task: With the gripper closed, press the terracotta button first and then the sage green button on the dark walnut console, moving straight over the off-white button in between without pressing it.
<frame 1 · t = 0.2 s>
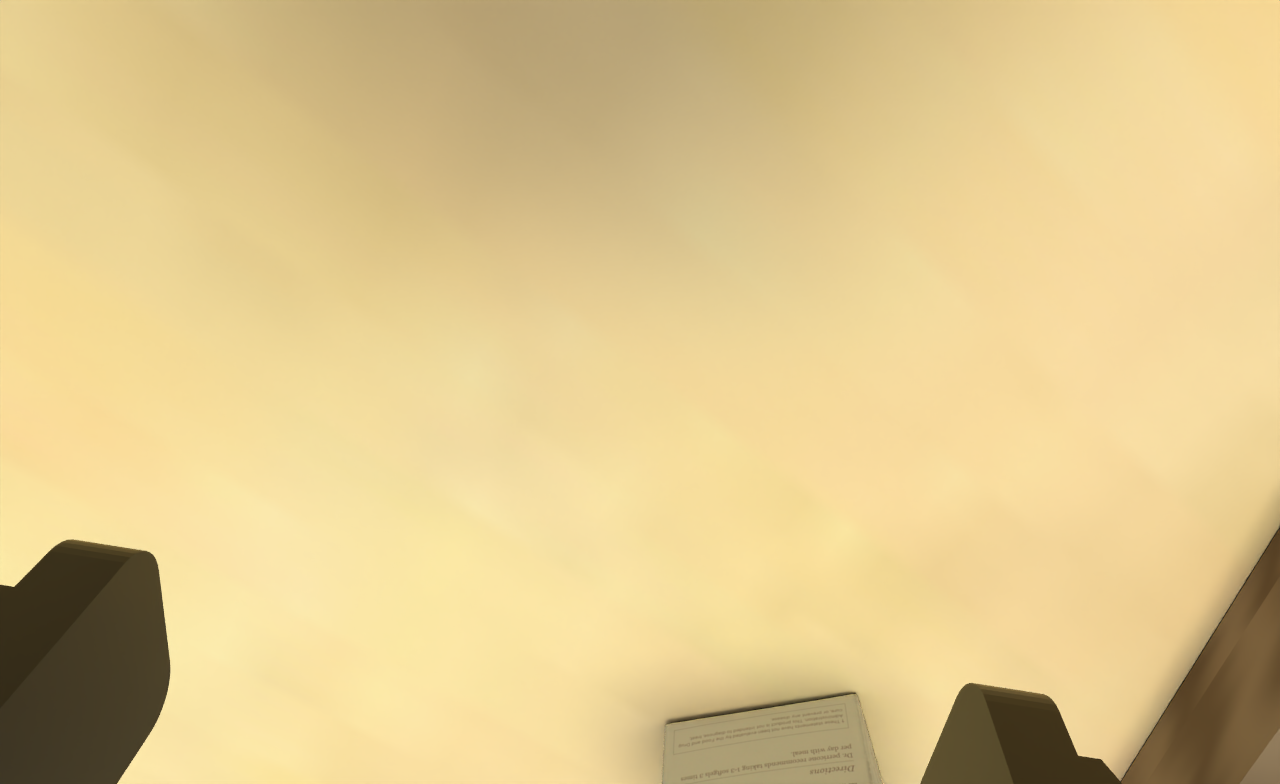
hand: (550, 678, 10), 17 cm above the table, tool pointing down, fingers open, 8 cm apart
supplement box: (782, 765, 36), on the table
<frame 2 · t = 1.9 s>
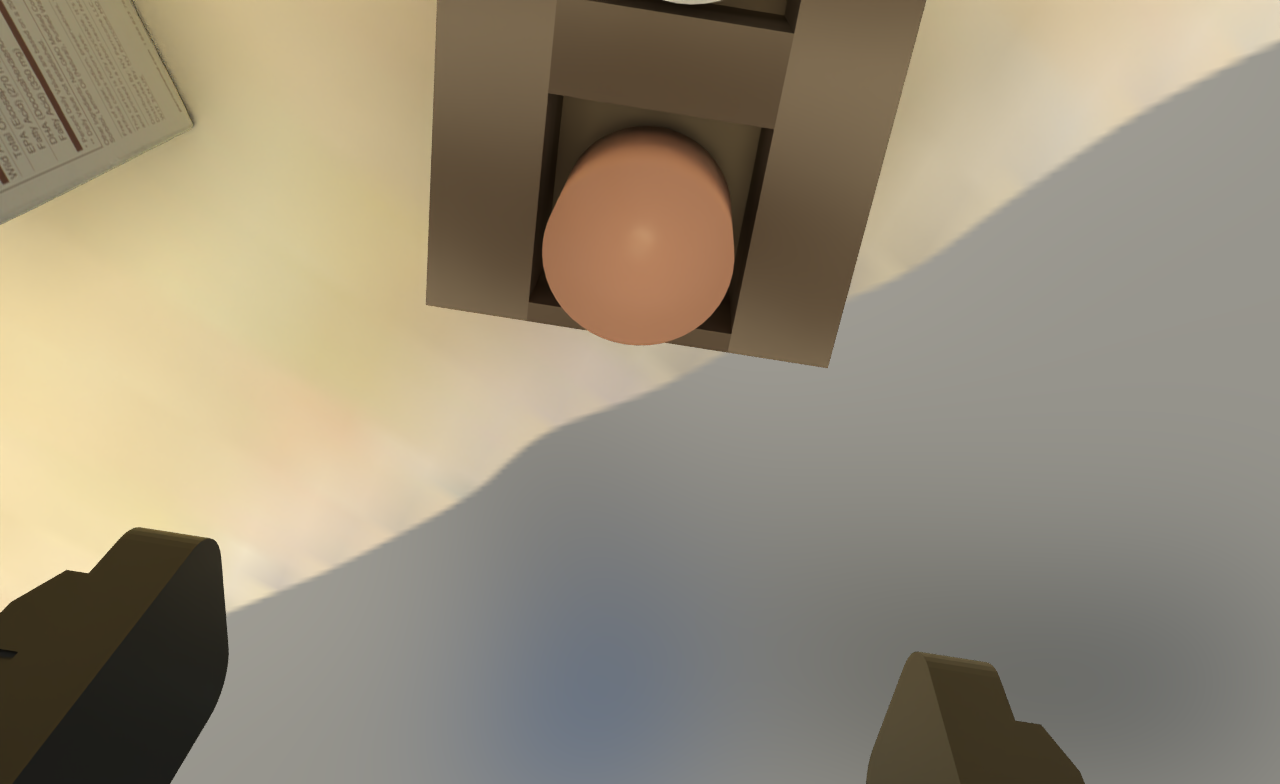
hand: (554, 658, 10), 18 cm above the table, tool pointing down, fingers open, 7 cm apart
supplement box: (21, 31, 25), on the table
terracotta button: (642, 233, 21), point 5 cm above the table, slide at 0.0 cm
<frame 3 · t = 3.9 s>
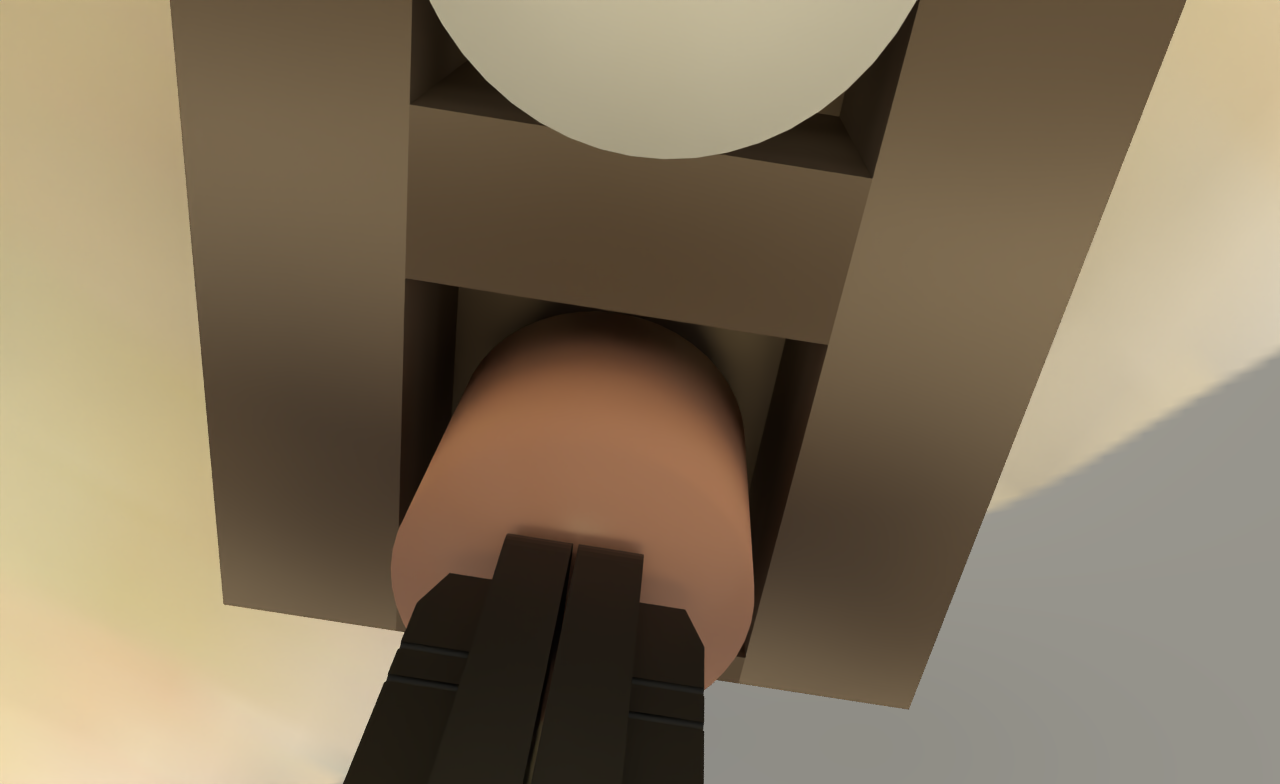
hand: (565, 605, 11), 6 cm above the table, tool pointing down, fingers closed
terracotta button: (587, 510, 12), point 5 cm above the table, slide at 0.4 cm, touching gripper
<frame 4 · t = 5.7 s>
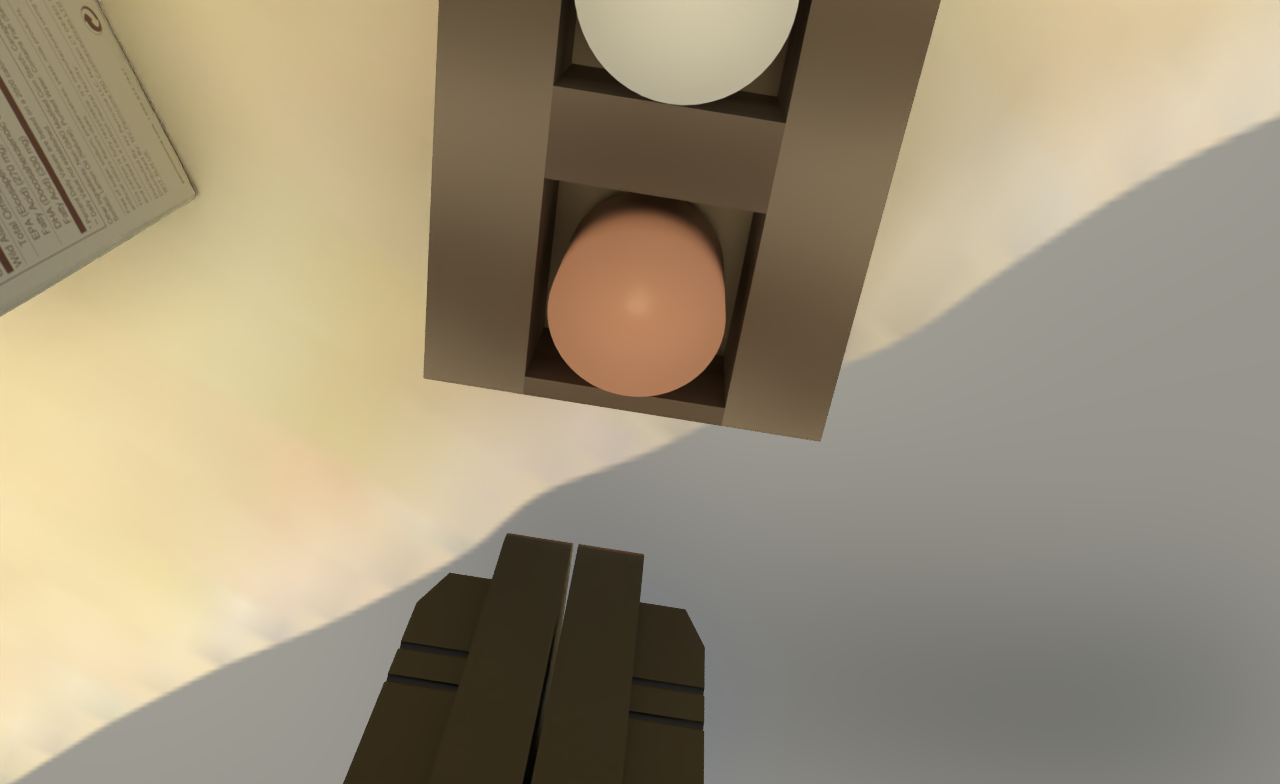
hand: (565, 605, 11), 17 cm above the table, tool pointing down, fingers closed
supplement box: (27, 104, 26), on the table
terracotta button: (640, 291, 23), point 4 cm above the table, slide at 1.4 cm
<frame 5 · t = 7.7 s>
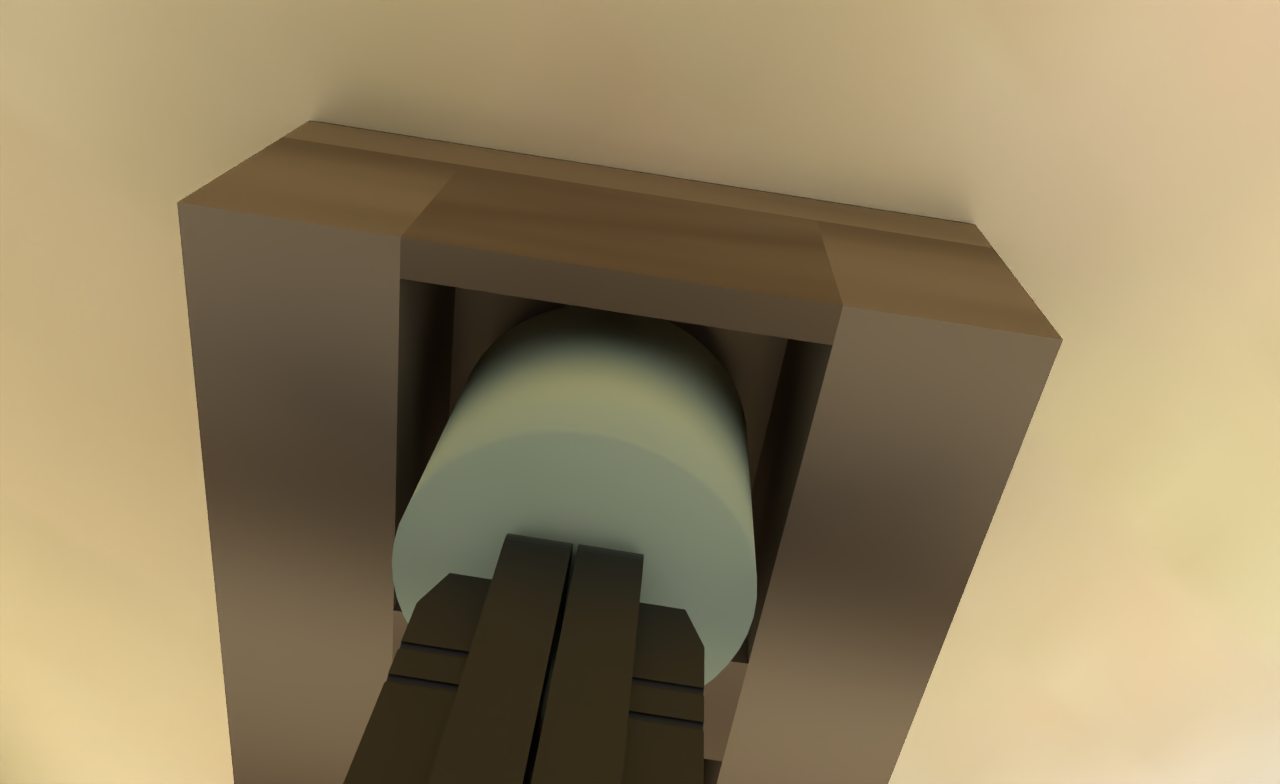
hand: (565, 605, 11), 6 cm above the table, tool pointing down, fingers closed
sage button: (589, 504, 12), point 4 cm above the table, slide at 0.6 cm, touching gripper
console: (573, 664, 19), on the table
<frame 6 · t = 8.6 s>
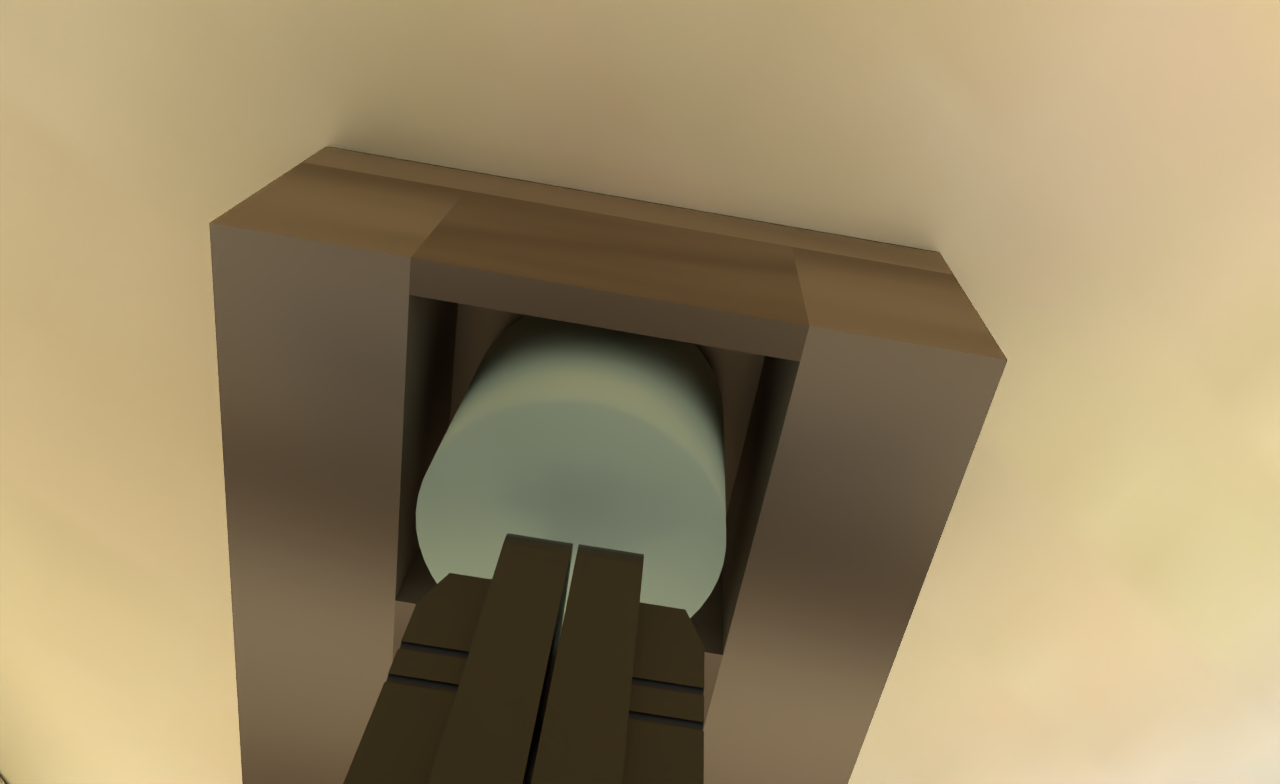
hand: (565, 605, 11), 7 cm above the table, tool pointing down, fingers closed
sage button: (584, 471, 14), point 3 cm above the table, slide at 1.4 cm
console: (561, 660, 20), on the table
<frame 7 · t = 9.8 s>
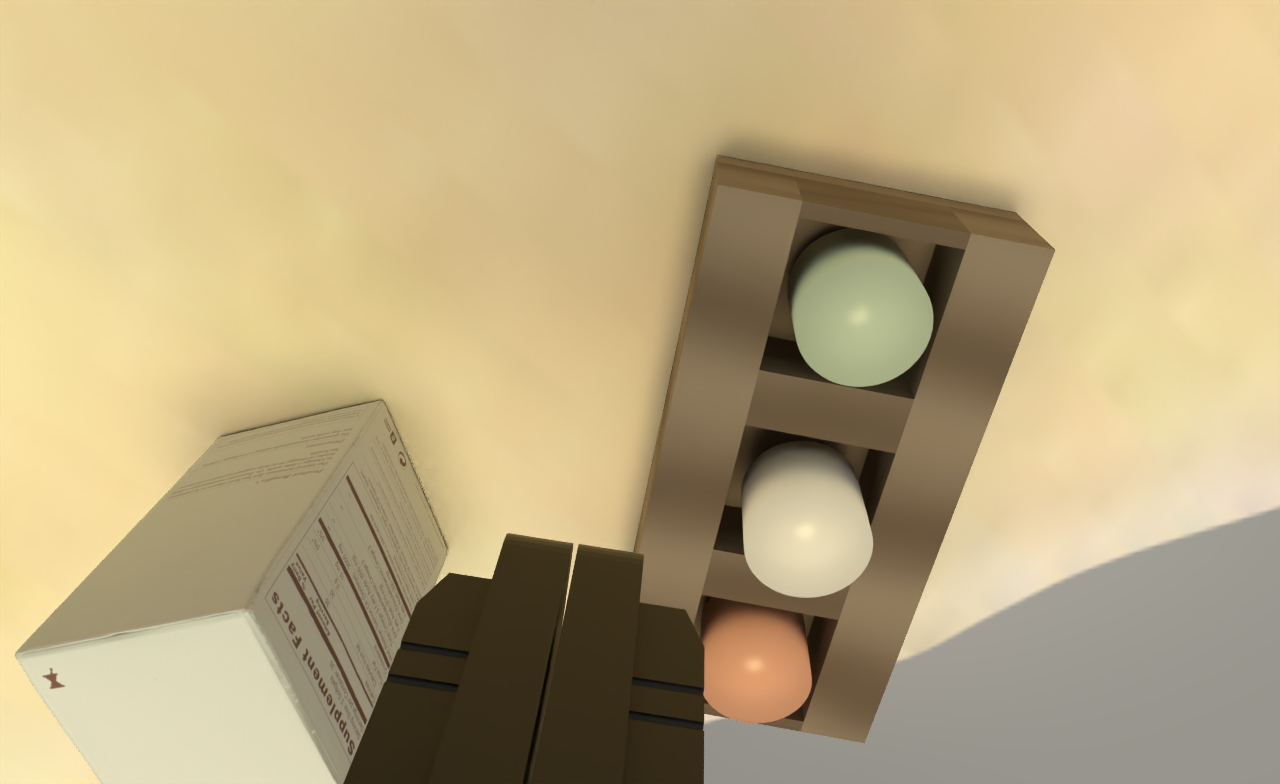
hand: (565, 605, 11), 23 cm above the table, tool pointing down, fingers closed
supplement box: (340, 491, 38), on the table
terracotta button: (753, 651, 36), point 4 cm above the table, slide at 1.4 cm
offwhite button: (803, 517, 31), point 5 cm above the table, slide at 0.0 cm
sage button: (856, 306, 29), point 3 cm above the table, slide at 1.4 cm
console: (792, 445, 36), on the table
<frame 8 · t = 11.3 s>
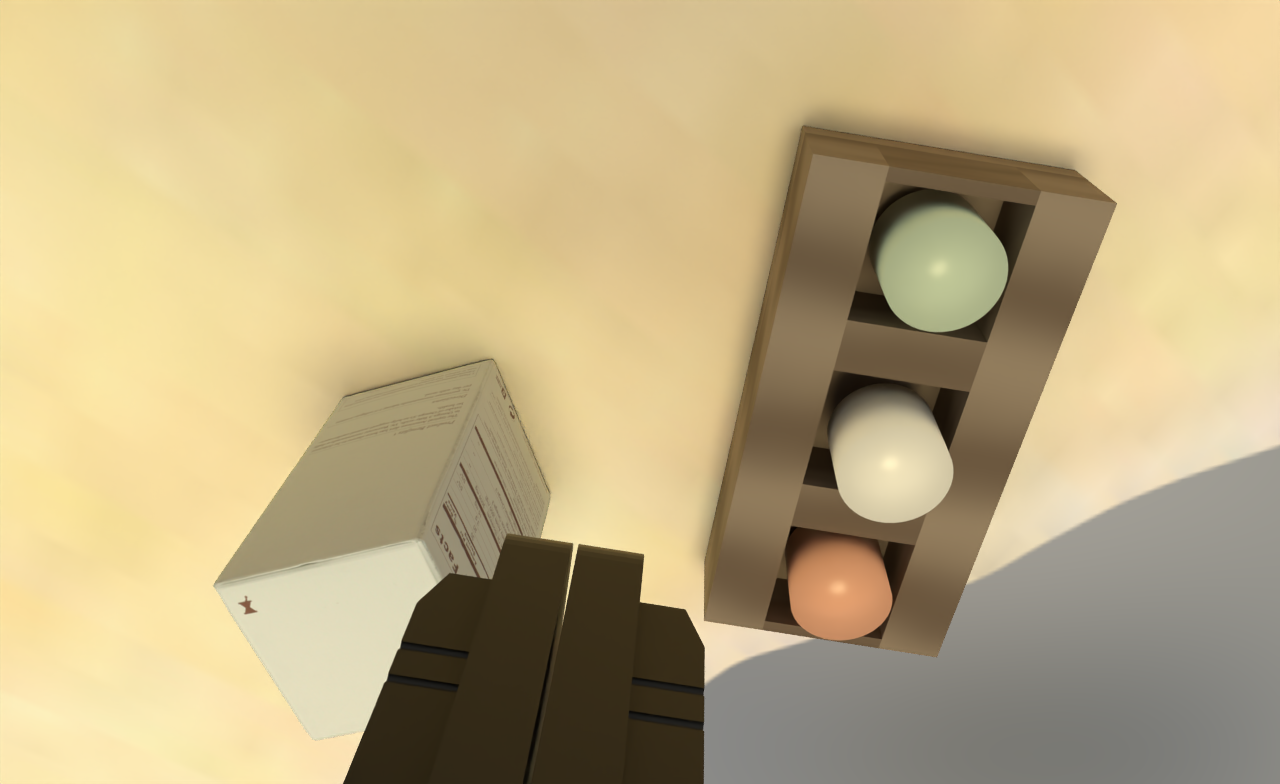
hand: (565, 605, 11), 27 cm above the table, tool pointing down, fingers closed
supplement box: (451, 444, 42), on the table
terracotta button: (836, 576, 39), point 4 cm above the table, slide at 1.4 cm
offwhite button: (887, 452, 35), point 5 cm above the table, slide at 0.0 cm
sage button: (935, 259, 33), point 3 cm above the table, slide at 1.4 cm
console: (867, 389, 39), on the table
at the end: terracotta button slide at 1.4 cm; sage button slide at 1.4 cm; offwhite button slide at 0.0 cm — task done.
